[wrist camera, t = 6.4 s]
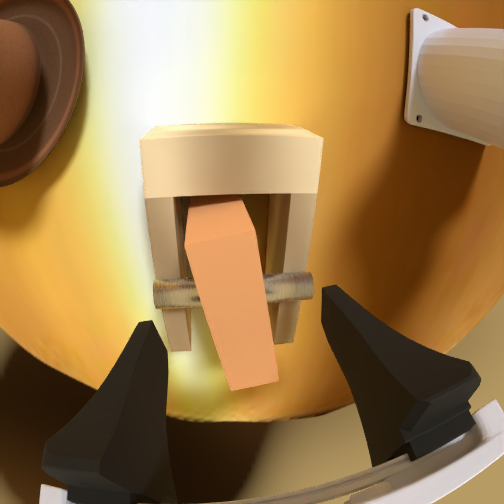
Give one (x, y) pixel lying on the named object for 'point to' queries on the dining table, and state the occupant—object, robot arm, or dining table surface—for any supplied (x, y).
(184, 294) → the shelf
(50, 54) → the cup and saucer
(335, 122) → the dining table surface
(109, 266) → the dining table surface
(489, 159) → the dining table surface
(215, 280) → the orange long block
